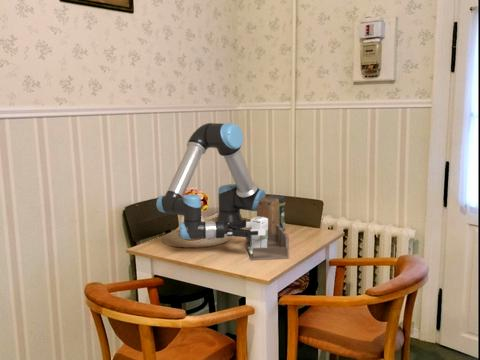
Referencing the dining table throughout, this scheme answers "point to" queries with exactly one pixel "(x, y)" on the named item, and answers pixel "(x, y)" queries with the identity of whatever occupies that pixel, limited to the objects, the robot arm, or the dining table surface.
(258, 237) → the syrup box
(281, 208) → the coffee jar
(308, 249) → the dining table surface
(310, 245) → the dining table surface
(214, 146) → the robot arm
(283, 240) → the bay
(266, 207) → the block
